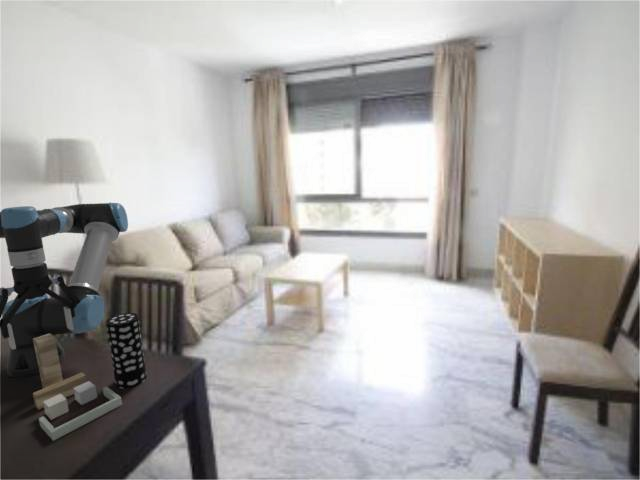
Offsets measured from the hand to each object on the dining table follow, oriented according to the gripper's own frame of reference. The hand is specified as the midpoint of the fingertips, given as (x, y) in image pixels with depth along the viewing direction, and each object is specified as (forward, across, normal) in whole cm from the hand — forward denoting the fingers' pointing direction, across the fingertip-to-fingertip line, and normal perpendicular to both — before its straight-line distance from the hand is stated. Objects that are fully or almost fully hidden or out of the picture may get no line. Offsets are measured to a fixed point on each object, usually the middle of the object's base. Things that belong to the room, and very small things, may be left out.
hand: (43, 337), depth 103 cm
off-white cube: (+17, -3, -13) cm, 21 cm away
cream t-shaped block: (+16, 0, -3) cm, 16 cm away
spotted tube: (+17, +16, -14) cm, 27 cm away
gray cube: (+17, +4, -13) cm, 21 cm away
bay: (+16, 0, -19) cm, 25 cm away
